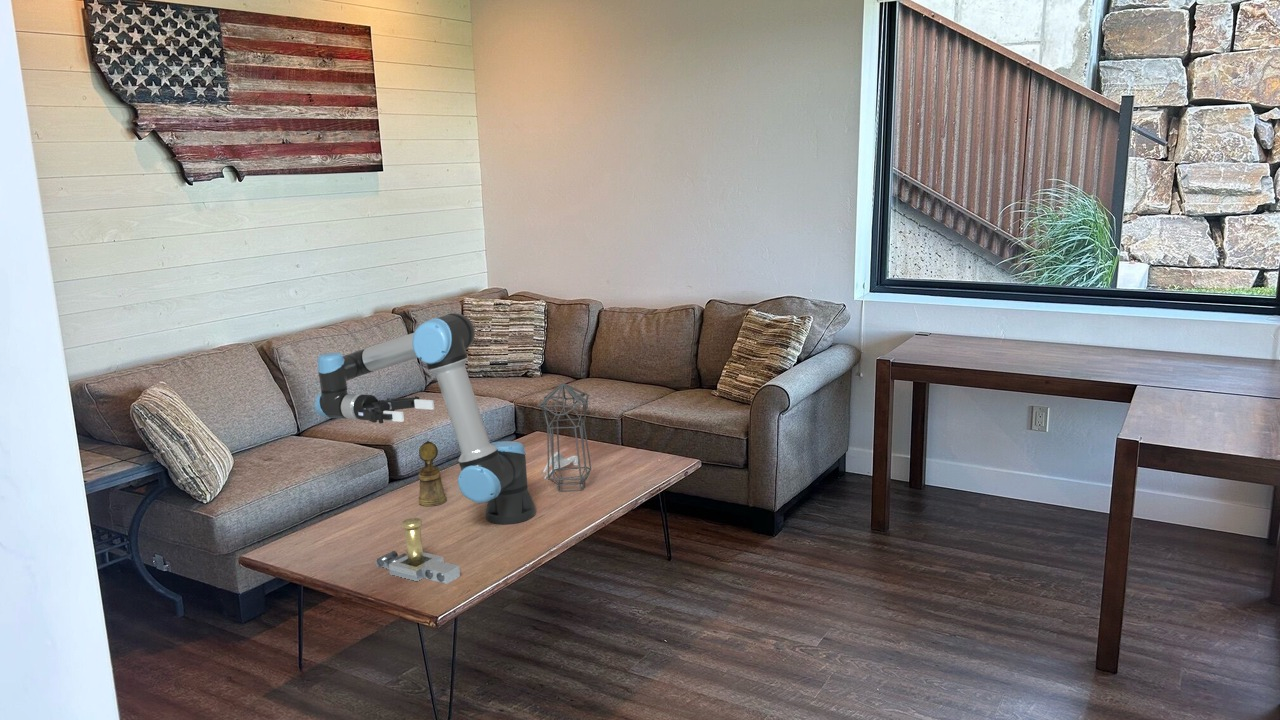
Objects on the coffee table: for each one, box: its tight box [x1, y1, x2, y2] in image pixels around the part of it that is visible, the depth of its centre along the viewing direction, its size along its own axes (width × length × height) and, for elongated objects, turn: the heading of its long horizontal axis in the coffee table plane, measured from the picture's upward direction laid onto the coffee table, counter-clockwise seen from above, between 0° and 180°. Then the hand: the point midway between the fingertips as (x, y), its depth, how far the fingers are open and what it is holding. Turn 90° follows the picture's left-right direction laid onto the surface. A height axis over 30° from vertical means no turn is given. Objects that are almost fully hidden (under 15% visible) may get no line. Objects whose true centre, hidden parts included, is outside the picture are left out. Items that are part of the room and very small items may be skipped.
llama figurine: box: [541, 451, 579, 480], centre depth 323 cm, size 2×11×18 cm
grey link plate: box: [374, 550, 461, 585], centre depth 247 cm, size 26×10×3 cm, turn 58°
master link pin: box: [401, 517, 424, 567], centre depth 246 cm, size 5×5×14 cm
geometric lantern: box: [537, 382, 592, 492], centre depth 304 cm, size 16×16×35 cm
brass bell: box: [418, 440, 448, 507], centre depth 300 cm, size 9×14×18 cm, turn 11°
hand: (418, 410), depth 266 cm, fingers open, 13 cm apart
